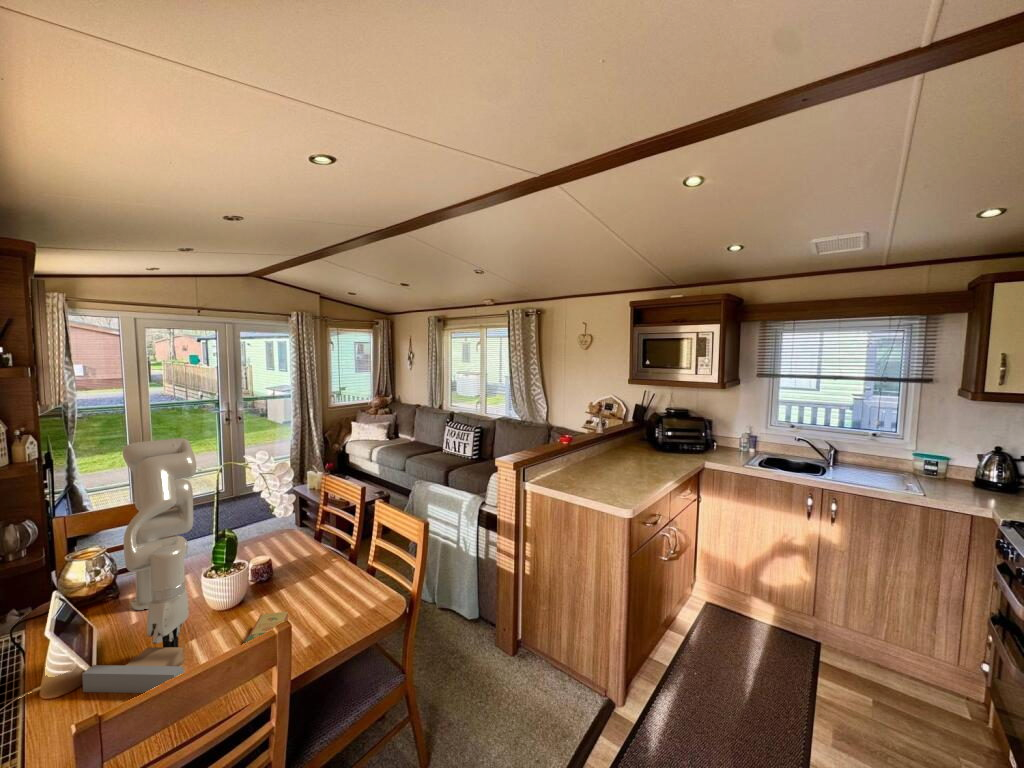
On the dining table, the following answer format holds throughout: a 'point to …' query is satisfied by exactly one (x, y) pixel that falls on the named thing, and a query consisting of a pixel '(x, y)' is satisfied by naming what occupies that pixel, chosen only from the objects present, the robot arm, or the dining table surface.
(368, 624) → the dining table surface
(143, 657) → the walnut block
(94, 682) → the board
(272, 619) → the carton
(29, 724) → the dining table surface
